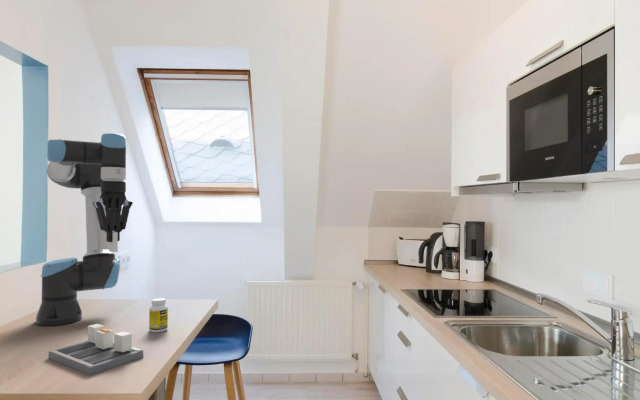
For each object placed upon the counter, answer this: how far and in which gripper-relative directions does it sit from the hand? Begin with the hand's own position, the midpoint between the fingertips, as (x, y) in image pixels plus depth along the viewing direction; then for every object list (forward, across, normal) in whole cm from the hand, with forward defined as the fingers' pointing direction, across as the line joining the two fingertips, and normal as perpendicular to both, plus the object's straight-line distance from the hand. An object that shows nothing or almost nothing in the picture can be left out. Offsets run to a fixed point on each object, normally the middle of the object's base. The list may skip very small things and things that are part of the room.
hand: (113, 251), depth 144 cm
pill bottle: (+30, +15, -4) cm, 33 cm away
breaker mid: (+27, -9, -11) cm, 30 cm away
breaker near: (+27, -8, -18) cm, 33 cm away
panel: (+29, -12, -11) cm, 34 cm away
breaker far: (+27, -8, -4) cm, 28 cm away
